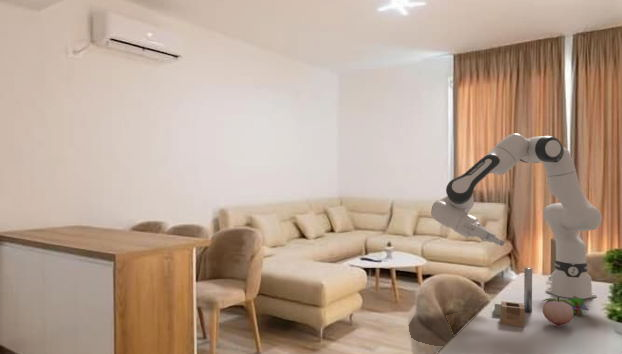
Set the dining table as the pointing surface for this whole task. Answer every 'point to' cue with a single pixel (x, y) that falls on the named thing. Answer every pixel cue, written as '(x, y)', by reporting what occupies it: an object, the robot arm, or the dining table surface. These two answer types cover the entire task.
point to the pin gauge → (528, 289)
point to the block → (499, 306)
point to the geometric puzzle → (578, 305)
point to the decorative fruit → (558, 311)
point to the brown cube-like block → (512, 313)
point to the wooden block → (553, 255)
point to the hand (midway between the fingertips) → (501, 243)
